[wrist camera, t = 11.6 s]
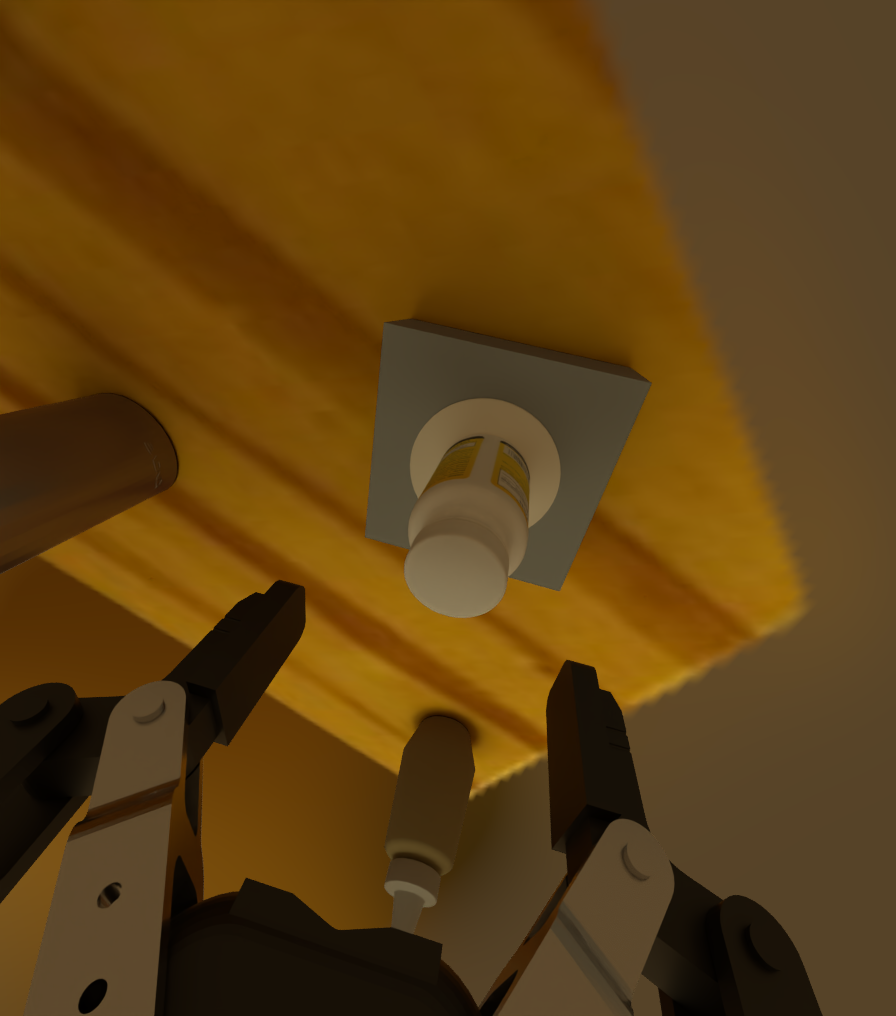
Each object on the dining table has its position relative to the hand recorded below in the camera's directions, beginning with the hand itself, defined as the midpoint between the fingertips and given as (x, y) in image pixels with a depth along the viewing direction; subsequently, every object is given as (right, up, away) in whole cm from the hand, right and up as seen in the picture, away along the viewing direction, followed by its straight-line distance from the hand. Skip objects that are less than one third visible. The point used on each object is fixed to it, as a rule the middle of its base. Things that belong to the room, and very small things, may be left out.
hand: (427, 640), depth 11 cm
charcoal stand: (+4, +8, +16) cm, 18 cm away
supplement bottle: (+3, +6, +12) cm, 13 cm away
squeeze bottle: (0, -22, +33) cm, 40 cm away
